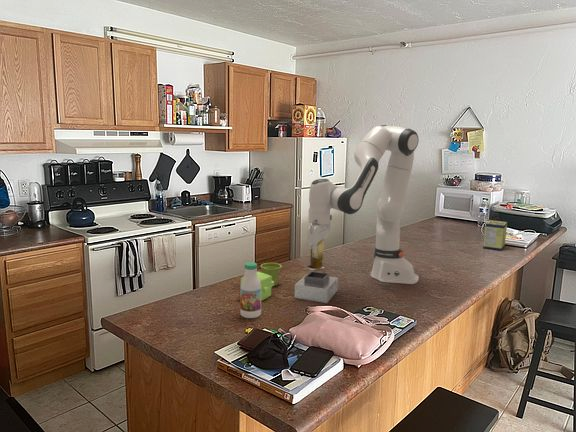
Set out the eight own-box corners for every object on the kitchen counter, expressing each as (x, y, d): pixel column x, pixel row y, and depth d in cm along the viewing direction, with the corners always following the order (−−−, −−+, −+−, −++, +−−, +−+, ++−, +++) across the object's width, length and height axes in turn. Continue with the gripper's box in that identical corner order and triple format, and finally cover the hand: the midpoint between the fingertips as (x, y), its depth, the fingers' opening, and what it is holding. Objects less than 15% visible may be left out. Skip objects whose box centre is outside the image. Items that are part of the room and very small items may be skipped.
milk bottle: (240, 310, 174) (240, 260, 171) (260, 310, 175) (261, 260, 171) (240, 319, 167) (240, 266, 163) (261, 318, 167) (261, 266, 164)
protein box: (504, 246, 284) (507, 221, 281) (501, 251, 271) (504, 225, 268) (487, 243, 290) (489, 219, 287) (482, 248, 277) (485, 223, 274)
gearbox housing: (337, 290, 198) (338, 272, 197) (326, 303, 184) (327, 283, 182) (307, 286, 203) (307, 268, 202) (294, 298, 189) (295, 278, 187)
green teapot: (252, 309, 178) (253, 286, 176) (233, 302, 183) (233, 280, 181) (278, 295, 193) (279, 274, 190) (259, 289, 198) (260, 268, 196)
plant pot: (284, 282, 208) (284, 264, 207) (276, 288, 200) (277, 269, 198) (265, 279, 211) (265, 261, 210) (257, 286, 203) (257, 267, 201)
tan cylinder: (325, 256, 192) (325, 238, 191) (321, 258, 187) (322, 241, 186) (313, 254, 194) (314, 237, 192) (310, 257, 189) (310, 240, 188)
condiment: (325, 268, 231) (326, 245, 229) (312, 270, 227) (312, 247, 225) (316, 264, 237) (317, 242, 235) (303, 266, 233) (304, 244, 231)
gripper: (318, 223, 177) (317, 257, 179) (333, 215, 196) (331, 246, 198) (303, 222, 179) (302, 255, 182) (319, 213, 198) (318, 244, 200)
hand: (317, 250), depth 190 cm, fingers closed on tan cylinder, 5 cm apart
